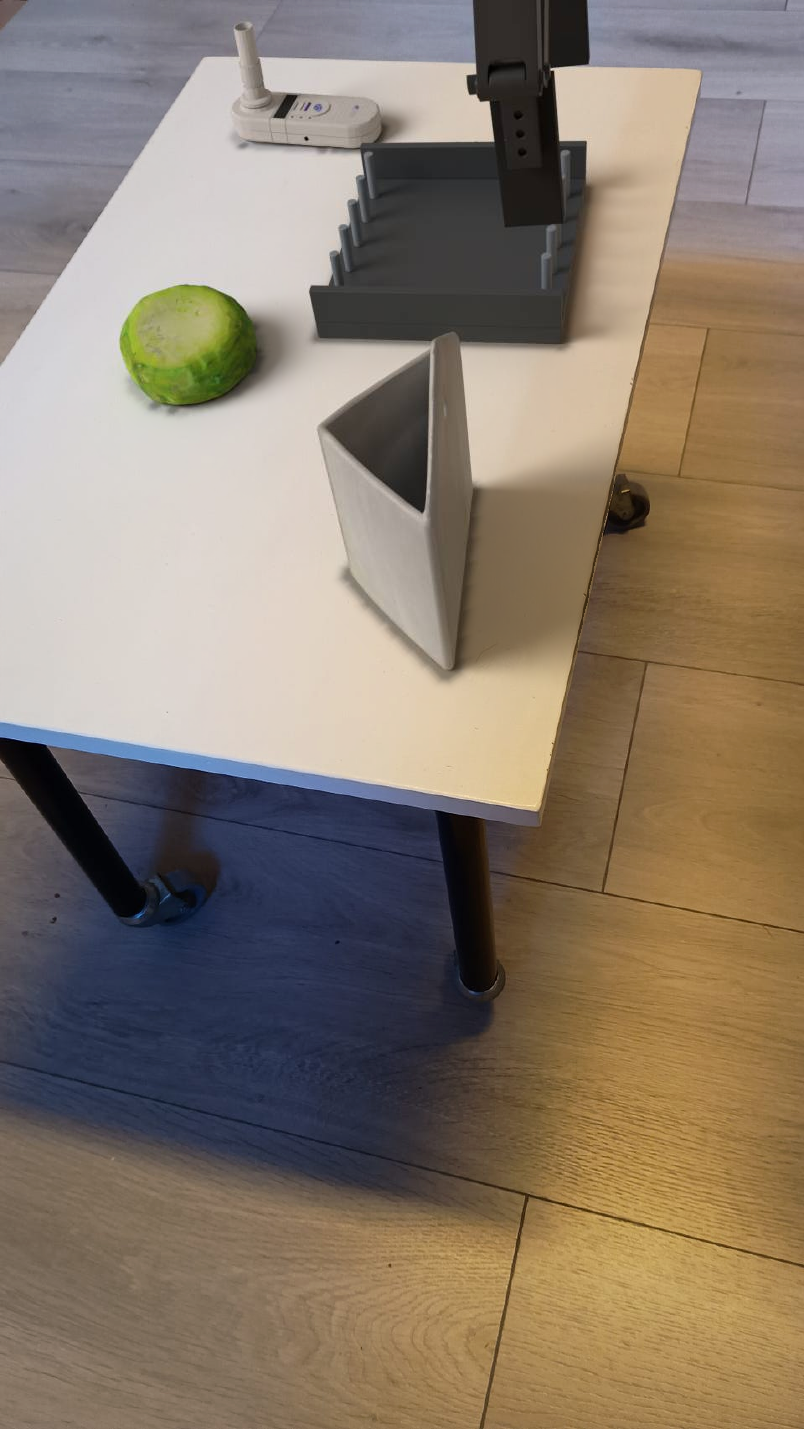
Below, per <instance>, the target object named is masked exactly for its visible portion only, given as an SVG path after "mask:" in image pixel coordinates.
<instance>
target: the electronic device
mask: <svg viewBox="0 0 804 1429" xmlns="http://www.w3.org/2000/svg"><path fill="white" fill-rule="evenodd" d="M233 33H234V38H235V43H236V48H237V53H238V58H239V62H238V65H239V70H240V71H239V72H240V76H241V82H242V84H243V90H244V92H243V93H241V95H240V96H239V97H238V98H236V99H235V100H234V101H233V103H232V104H231V107H230V114H231V115H230V116H231V120H232V125H233V130H234V132H235V133H236V134H237V136H238V137H240V138H241V139H243V140H245V141H251V142H264V143H276V144H289V145H290V144H291V145H304V146H305V145H306V146H317V147H334V148H335V147H336V148H345V149H358V148H360V146H361V143H375V141H376V140H378V138H379V137H380V135H381V132H382V129H383V128H382V121H381V120H382V119H381V118H382V117H381V109H380V107H379V104H378V103H377V102H376V101H374V100H373V99H370V98H367V97H364V96H363V97H362V96H361V97H360V96H348V95H331V94H317V93H301V92H300V93H299V92H286V91H273V90H272V91H271V90H270V89H268V88H266V87H265V82H264V74H263V69H262V68H263V67H262V63H261V62H262V61H261V58H259V54H258V49H257V48H258V47H257V44H256V37H255V32H254V26H253V23H252V22H250V21H240V22H238V23H236V24H234V26H233Z"/></svg>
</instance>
